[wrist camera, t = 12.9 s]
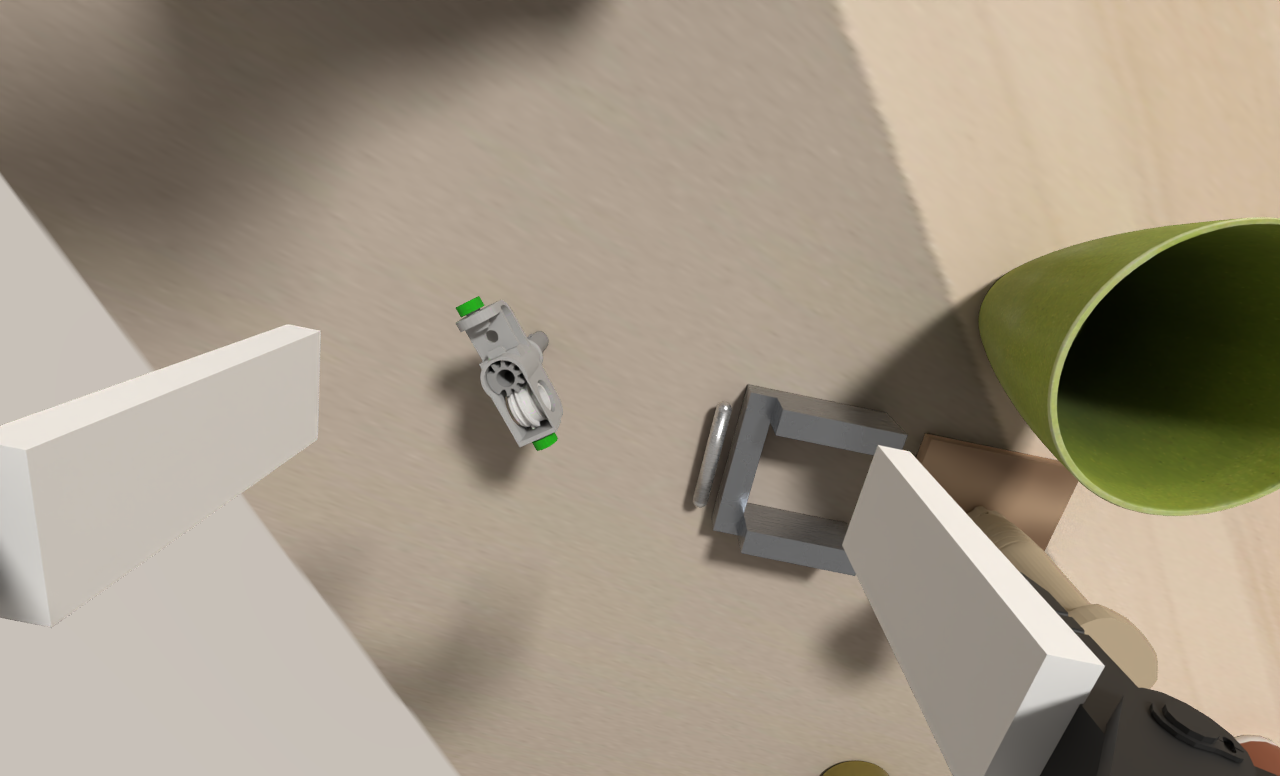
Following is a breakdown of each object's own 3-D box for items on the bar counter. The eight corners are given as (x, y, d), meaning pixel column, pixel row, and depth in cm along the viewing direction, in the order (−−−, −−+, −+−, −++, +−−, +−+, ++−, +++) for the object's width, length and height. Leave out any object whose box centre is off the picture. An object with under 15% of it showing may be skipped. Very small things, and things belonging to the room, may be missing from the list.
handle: (972, 565, 49) (1093, 718, 35) (930, 510, 48) (1038, 647, 34) (1026, 533, 48) (1175, 679, 34) (985, 476, 47) (1121, 603, 32)
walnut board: (925, 433, 47) (931, 439, 46) (1073, 463, 47) (1083, 470, 46) (876, 561, 51) (880, 569, 50) (1013, 589, 51) (1021, 598, 50)
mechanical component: (523, 272, 45) (483, 294, 35) (585, 390, 47) (564, 441, 38) (489, 288, 45) (440, 315, 36) (552, 405, 48) (523, 459, 38)
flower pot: (913, 412, 47) (1030, 521, 31) (931, 213, 42) (1078, 227, 27) (1115, 405, 46) (1336, 513, 30) (1156, 200, 41) (1441, 207, 26)
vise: (721, 378, 46) (726, 397, 42) (886, 412, 47) (907, 435, 42) (687, 512, 50) (688, 542, 46) (839, 543, 50) (855, 576, 46)
